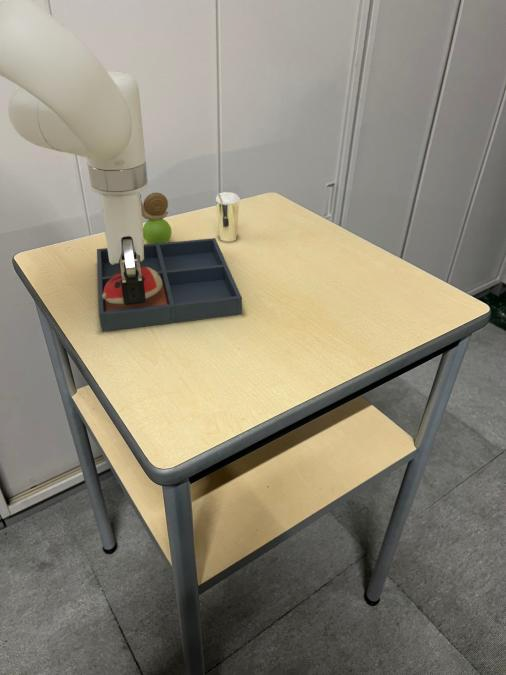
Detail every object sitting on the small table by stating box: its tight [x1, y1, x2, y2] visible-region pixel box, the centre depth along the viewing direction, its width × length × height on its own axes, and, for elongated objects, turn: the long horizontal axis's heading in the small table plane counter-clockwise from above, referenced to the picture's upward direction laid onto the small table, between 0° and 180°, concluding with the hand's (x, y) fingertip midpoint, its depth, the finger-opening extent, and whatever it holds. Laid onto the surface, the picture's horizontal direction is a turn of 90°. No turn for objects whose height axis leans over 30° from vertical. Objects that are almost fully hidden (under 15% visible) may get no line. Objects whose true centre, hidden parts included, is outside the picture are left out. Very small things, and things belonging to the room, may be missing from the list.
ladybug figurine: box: [102, 267, 163, 304], centre depth 79 cm, size 7×10×4 cm
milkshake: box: [215, 191, 241, 243], centre depth 99 cm, size 4×5×10 cm
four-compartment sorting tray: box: [96, 237, 243, 333], centre depth 86 cm, size 21×21×3 cm
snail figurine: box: [140, 192, 173, 244], centre depth 96 cm, size 5×6×12 cm
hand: (133, 288), depth 80 cm, fingers closed on ladybug figurine, 7 cm apart
